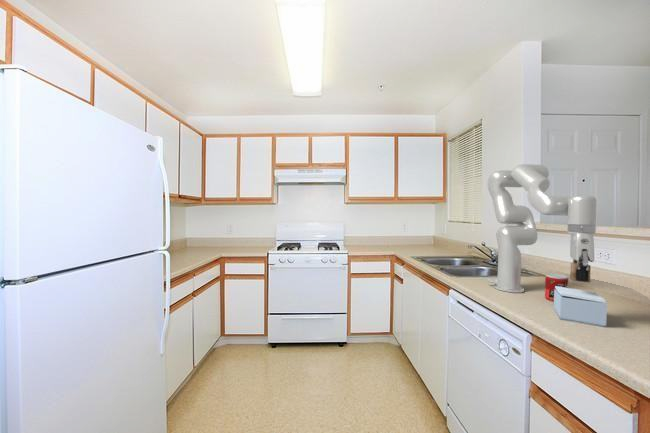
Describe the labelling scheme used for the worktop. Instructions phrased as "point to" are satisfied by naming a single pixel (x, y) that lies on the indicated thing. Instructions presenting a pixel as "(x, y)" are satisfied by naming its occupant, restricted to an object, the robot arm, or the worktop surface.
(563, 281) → the canned food
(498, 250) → the robot arm
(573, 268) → the block
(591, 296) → the flap
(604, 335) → the worktop surface
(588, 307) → the carton
